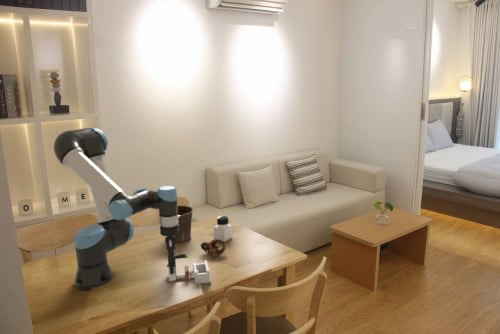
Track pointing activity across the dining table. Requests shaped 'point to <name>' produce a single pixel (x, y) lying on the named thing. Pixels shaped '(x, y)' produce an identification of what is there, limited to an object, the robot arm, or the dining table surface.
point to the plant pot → (184, 224)
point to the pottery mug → (213, 247)
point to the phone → (180, 256)
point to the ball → (193, 273)
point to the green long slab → (202, 273)
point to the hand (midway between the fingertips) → (172, 272)
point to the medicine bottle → (222, 229)
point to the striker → (181, 277)
